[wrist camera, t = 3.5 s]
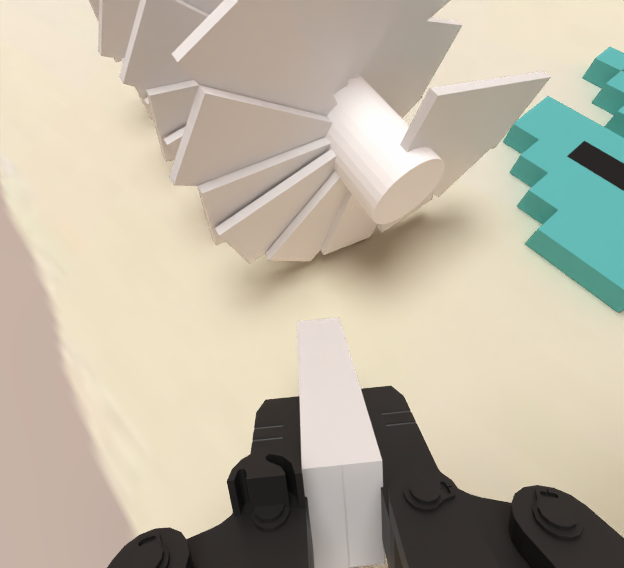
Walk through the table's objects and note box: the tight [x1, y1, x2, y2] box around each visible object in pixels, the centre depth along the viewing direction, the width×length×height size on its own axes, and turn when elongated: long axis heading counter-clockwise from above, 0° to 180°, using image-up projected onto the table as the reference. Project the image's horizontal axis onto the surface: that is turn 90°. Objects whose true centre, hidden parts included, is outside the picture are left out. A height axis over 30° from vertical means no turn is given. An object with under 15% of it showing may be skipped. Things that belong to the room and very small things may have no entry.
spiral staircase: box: [89, 0, 550, 264], centre depth 21 cm, size 18×18×25 cm
